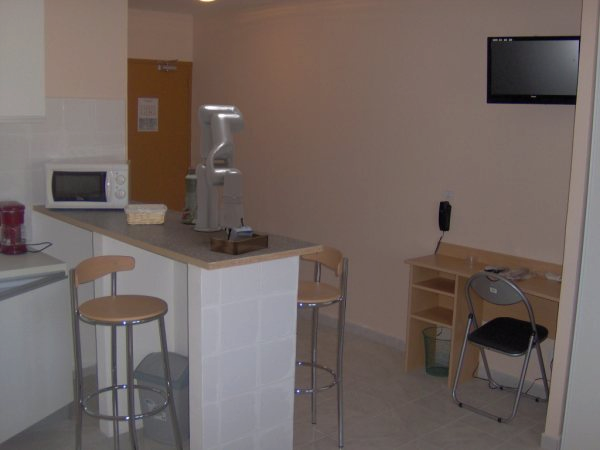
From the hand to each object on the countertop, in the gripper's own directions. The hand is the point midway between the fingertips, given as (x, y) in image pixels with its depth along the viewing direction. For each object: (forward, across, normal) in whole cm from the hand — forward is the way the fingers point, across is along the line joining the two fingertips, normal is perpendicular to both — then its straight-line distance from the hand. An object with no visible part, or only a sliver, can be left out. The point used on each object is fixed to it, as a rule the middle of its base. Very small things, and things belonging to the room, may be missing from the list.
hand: (231, 244), depth 296 cm
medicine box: (+1, +4, 0) cm, 4 cm away
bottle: (+2, -53, +32) cm, 62 cm away
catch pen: (+1, +4, 0) cm, 4 cm away
